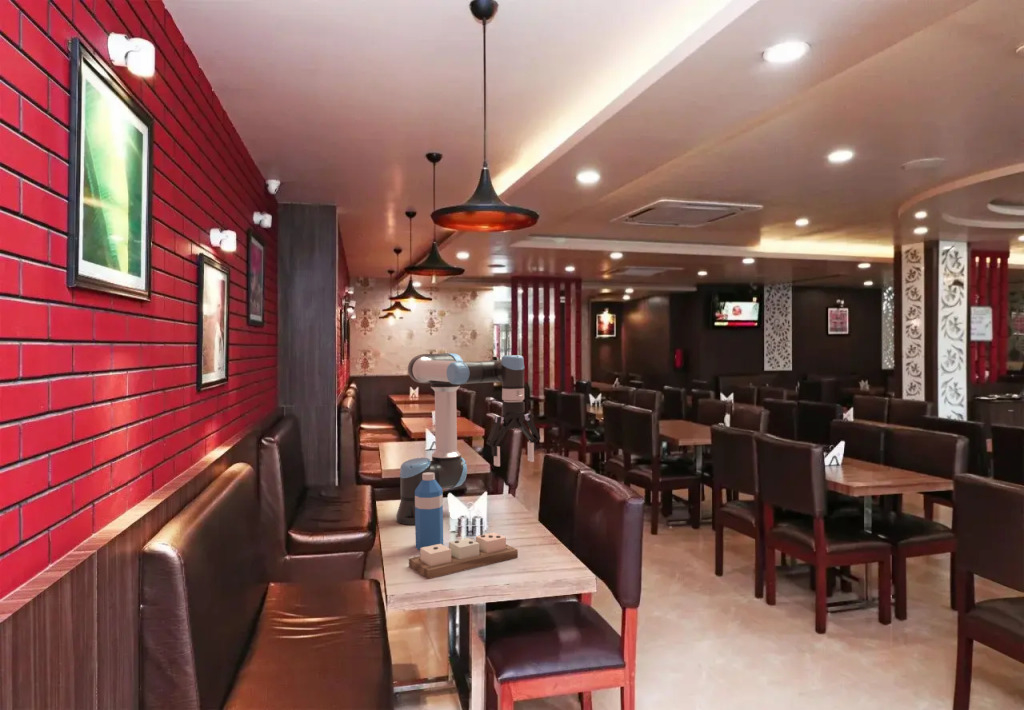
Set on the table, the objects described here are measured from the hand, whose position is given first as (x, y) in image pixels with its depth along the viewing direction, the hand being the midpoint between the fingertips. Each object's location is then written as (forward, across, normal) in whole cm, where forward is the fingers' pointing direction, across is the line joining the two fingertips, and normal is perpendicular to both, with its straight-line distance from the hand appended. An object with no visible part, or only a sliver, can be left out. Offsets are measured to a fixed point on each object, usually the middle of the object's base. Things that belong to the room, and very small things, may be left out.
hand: (514, 463), depth 222 cm
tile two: (+26, -22, -4) cm, 34 cm away
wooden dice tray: (+28, -22, -4) cm, 36 cm away
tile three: (+26, -12, -4) cm, 29 cm away
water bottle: (+28, -25, +16) cm, 41 cm away
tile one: (+26, -32, -5) cm, 41 cm away
